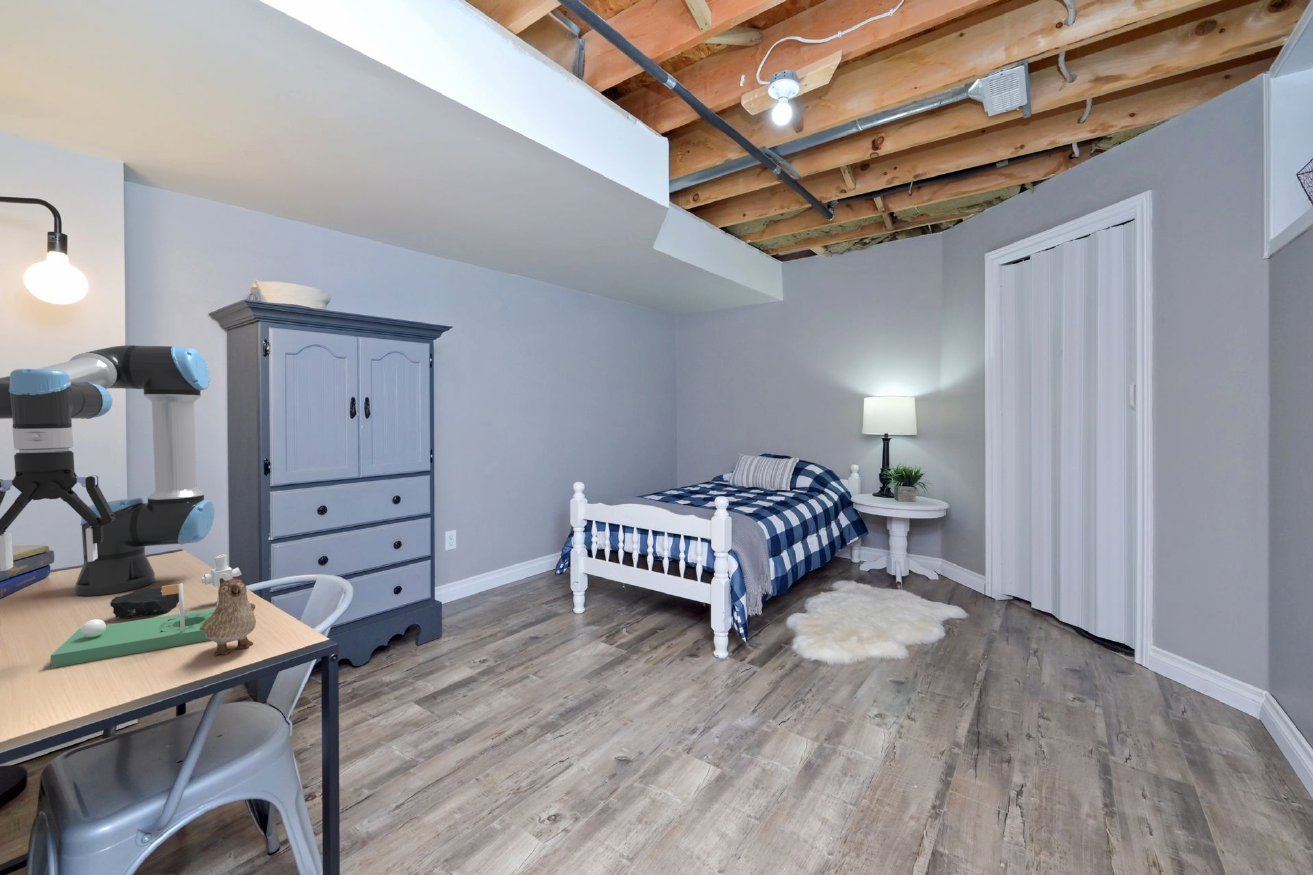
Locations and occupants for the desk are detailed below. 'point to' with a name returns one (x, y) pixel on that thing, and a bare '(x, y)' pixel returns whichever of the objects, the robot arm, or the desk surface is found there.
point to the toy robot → (220, 573)
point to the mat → (136, 635)
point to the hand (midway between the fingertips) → (51, 564)
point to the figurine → (231, 617)
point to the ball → (93, 628)
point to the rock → (143, 603)
